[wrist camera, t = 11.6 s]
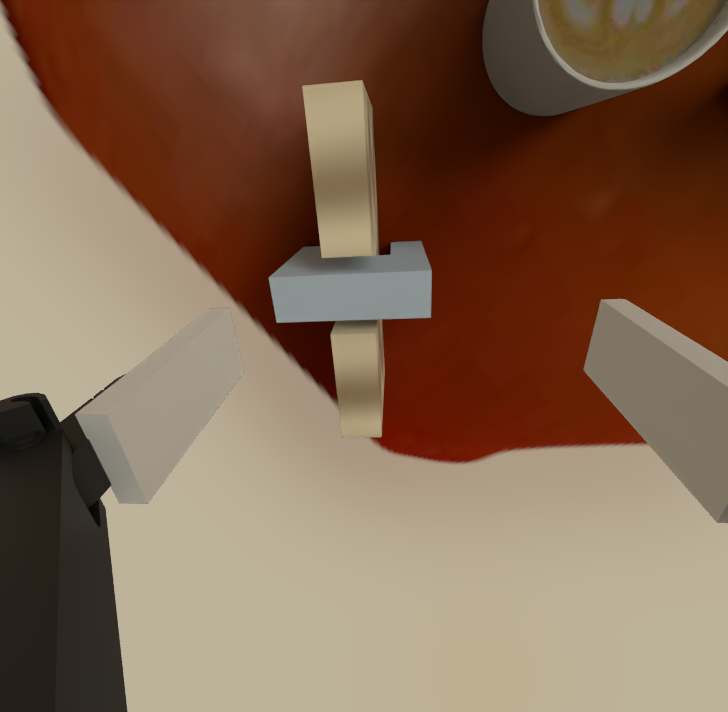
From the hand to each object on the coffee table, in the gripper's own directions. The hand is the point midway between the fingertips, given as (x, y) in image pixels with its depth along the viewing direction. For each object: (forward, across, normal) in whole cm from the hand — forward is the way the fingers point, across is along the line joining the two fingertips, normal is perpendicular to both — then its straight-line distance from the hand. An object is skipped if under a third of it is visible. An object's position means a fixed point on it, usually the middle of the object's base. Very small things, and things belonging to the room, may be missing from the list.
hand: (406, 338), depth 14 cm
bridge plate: (+20, -3, -2) cm, 20 cm away
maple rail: (+20, -4, -2) cm, 20 cm away
